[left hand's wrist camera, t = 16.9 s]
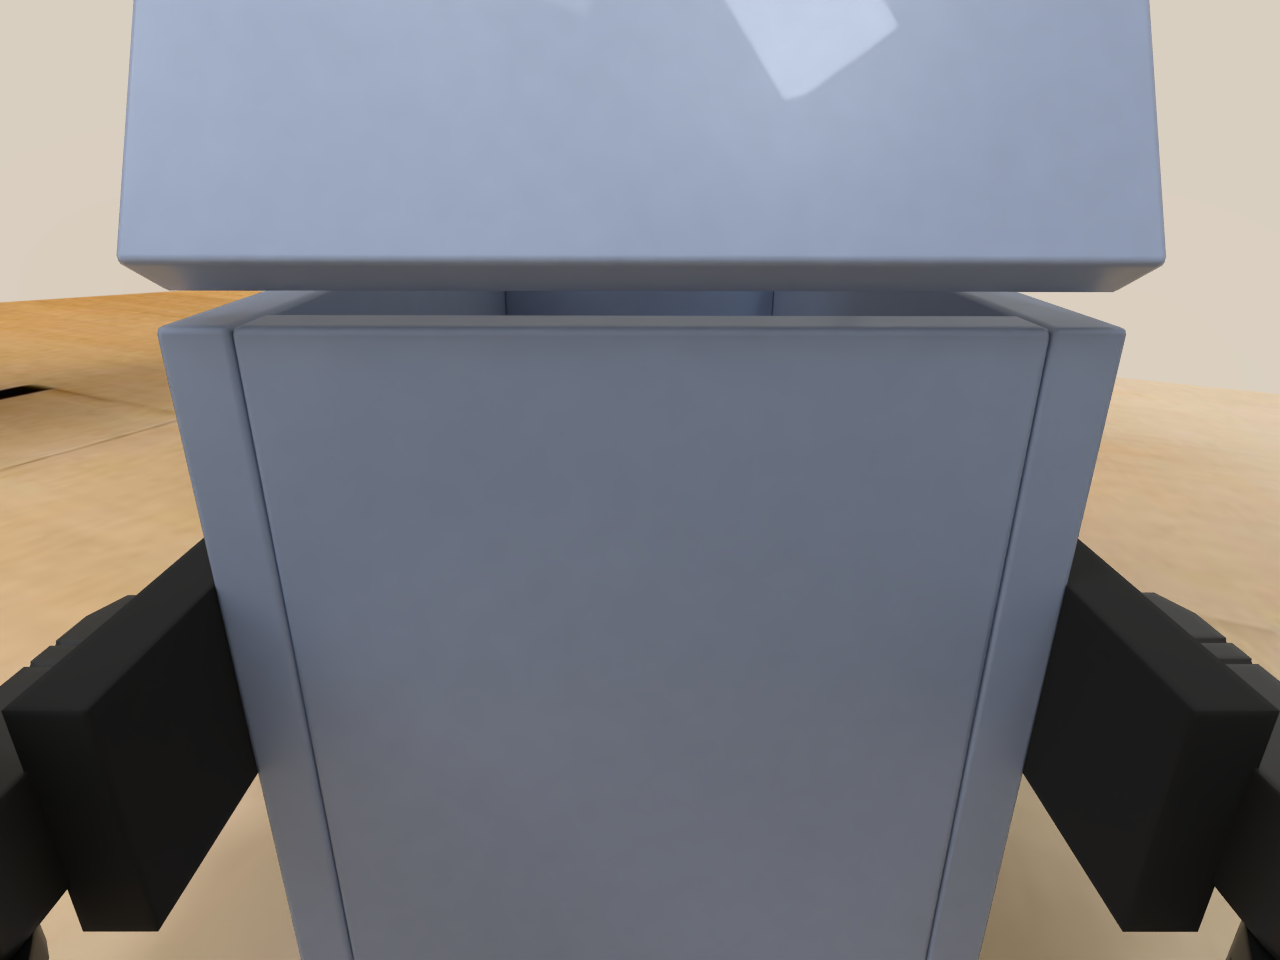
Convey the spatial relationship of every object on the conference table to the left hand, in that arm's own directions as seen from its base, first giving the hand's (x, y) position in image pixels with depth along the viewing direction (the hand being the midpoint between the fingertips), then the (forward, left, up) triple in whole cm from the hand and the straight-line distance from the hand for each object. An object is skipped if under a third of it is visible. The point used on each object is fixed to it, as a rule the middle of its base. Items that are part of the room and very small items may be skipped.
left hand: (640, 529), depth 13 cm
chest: (+4, -2, -7) cm, 8 cm away
